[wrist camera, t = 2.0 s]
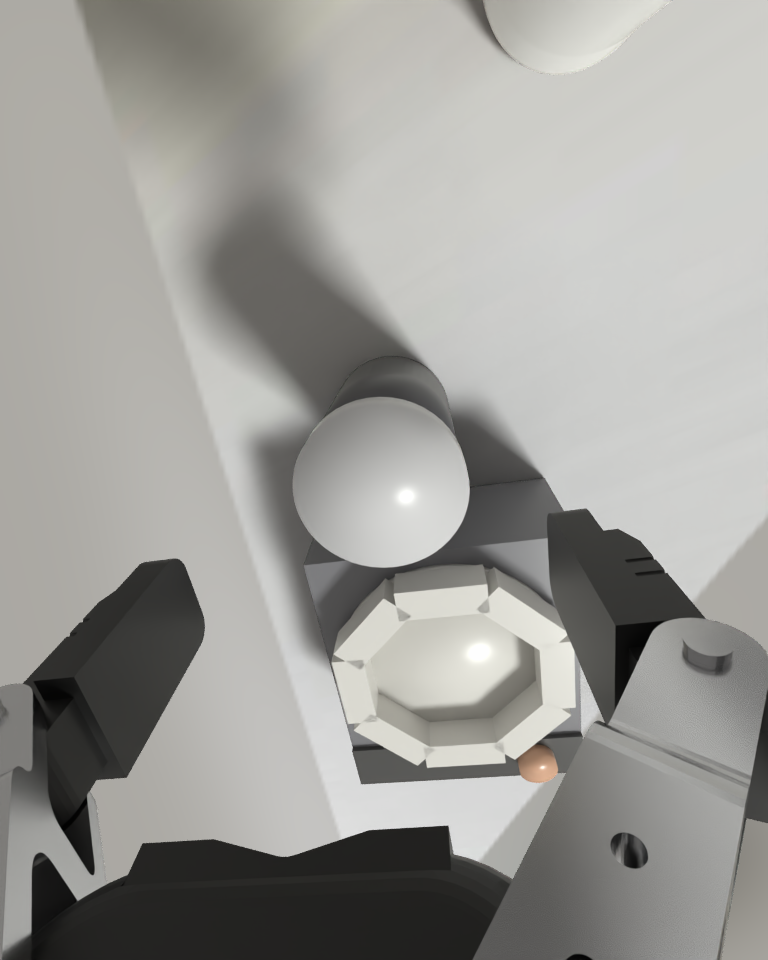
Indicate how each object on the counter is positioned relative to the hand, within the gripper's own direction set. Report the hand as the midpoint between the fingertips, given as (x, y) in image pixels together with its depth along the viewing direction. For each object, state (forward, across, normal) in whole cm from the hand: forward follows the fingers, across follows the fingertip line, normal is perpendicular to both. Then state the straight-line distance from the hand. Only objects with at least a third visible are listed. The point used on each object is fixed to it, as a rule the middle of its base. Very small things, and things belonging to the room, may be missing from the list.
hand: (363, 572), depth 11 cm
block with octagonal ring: (+12, -2, +10) cm, 15 cm away
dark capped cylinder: (+12, 0, 0) cm, 12 cm away
